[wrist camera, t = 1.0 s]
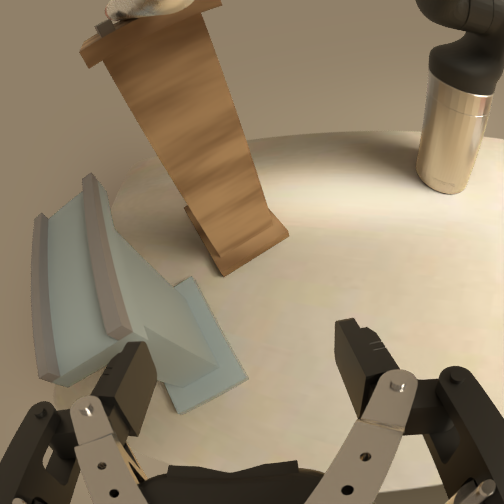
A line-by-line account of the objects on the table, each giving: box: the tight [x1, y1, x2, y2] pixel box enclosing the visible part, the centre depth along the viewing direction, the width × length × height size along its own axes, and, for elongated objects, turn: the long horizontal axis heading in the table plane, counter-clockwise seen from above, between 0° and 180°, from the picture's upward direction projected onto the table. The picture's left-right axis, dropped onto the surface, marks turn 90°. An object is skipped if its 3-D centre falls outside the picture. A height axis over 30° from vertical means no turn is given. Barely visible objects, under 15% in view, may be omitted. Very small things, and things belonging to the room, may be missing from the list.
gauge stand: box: [79, 0, 289, 277], centre depth 29 cm, size 14×10×32 cm
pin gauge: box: [105, 0, 194, 21], centre depth 13 cm, size 22×3×3 cm, turn 29°
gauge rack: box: [31, 173, 249, 414], centre depth 25 cm, size 15×9×21 cm, turn 29°
